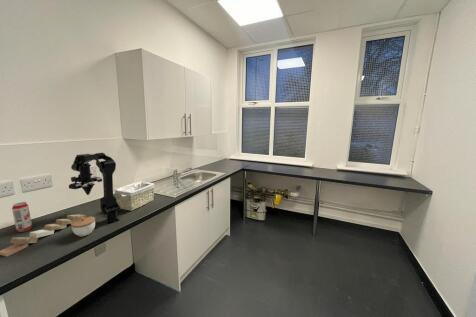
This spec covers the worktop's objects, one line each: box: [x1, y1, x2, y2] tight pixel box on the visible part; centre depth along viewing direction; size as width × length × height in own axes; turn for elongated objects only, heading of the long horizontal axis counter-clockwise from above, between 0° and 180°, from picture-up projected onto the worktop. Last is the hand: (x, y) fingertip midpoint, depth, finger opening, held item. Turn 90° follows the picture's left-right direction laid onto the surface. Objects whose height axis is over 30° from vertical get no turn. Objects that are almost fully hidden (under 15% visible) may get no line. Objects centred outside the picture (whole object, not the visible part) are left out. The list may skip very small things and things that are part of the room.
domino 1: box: [9, 236, 39, 244], centre depth 99 cm, size 2×5×8 cm
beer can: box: [11, 201, 33, 233], centre depth 112 cm, size 6×6×16 cm
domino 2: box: [28, 228, 55, 239], centre depth 107 cm, size 2×5×8 cm
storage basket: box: [114, 180, 155, 212], centre depth 149 cm, size 24×16×15 cm
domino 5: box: [65, 213, 87, 220], centre depth 124 cm, size 2×5×8 cm
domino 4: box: [55, 218, 74, 225], centre depth 118 cm, size 2×5×8 cm
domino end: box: [0, 243, 29, 258], centre depth 95 cm, size 2×5×8 cm
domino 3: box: [43, 223, 68, 231], centre depth 113 cm, size 2×5×8 cm
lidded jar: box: [70, 216, 96, 237], centre depth 110 cm, size 11×11×9 cm
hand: (88, 194), depth 133 cm, fingers closed
